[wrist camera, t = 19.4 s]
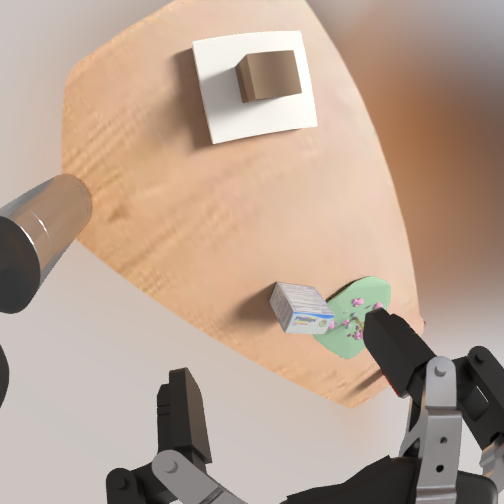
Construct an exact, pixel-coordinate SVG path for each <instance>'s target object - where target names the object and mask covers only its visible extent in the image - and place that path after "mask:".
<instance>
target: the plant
mask: <svg viewBox="0 0 504 504" xmlns="http://www.w3.org/2000/svg"><path fill="white" fill-rule="evenodd" d="M390 299H391V287H390V285H389V283H388V282H387V281H385V280H383V279H379V278H376V277H372V276H368V277H365V278H362V279H360V280H357V281H355V282H354V283H352V284H351V285H350V286H348V287H347V288H346V289H344V290H343V291H342V292H340V293H339V294H338V295H336V296H335V297H334V298H332V299H331V300H330V301H328V302H327V304H328V306H329V307H330V308H331V310H332V311H333V313H334V314H335V316H334V318H333V320H332V322H331V324H330V325H329V327H328V329H327V330H326V332H325V333H324V334H313V336H314V338H315V339H316V340H318V341H319V342H320V343H321V344H322V345H324V346H325V347H326V348H327V349H328V350H330V351H332V352H333V353H335V354H337V355H339V356H340V357H342V358H344V359H350V358H353V357H355V356H356V355H357V354H358V353H360V352H361V351H362V350H363V349H364V348H365V347H366V346H365V344H364V341H363V329H364V321H365V314H366V313H367V312H369V311H372V310H374V309H377V308H379V307H382V308H384V309H385V310H387V308H388V305H389V303H390Z"/></svg>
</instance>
